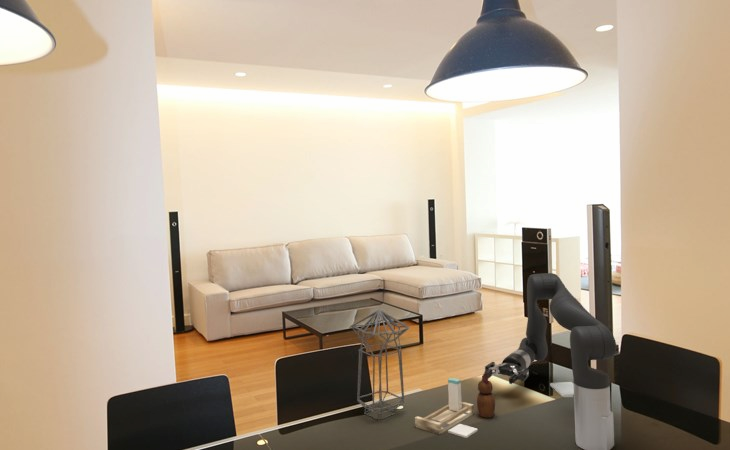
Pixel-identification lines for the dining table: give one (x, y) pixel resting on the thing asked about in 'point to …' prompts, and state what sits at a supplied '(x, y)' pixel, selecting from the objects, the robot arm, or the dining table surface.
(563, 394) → the hard drive
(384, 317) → the geometric lantern
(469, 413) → the light wooden tray
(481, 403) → the wooden figurine
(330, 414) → the dining table surface
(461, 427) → the pad
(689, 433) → the dining table surface
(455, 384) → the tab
